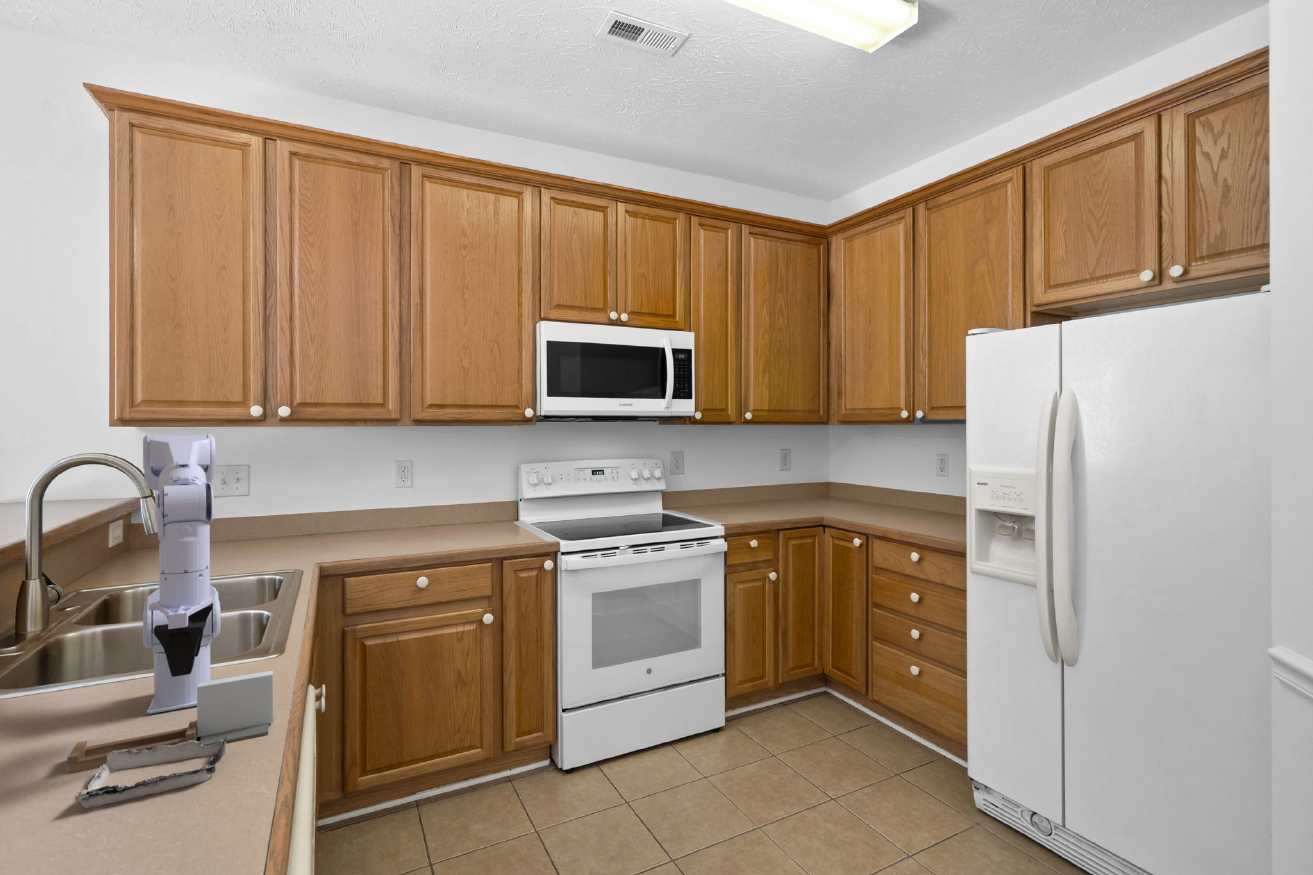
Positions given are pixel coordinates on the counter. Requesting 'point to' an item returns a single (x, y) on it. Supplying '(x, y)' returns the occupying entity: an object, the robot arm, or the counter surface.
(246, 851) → the counter surface
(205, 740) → the mat
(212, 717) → the board
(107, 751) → the rack
